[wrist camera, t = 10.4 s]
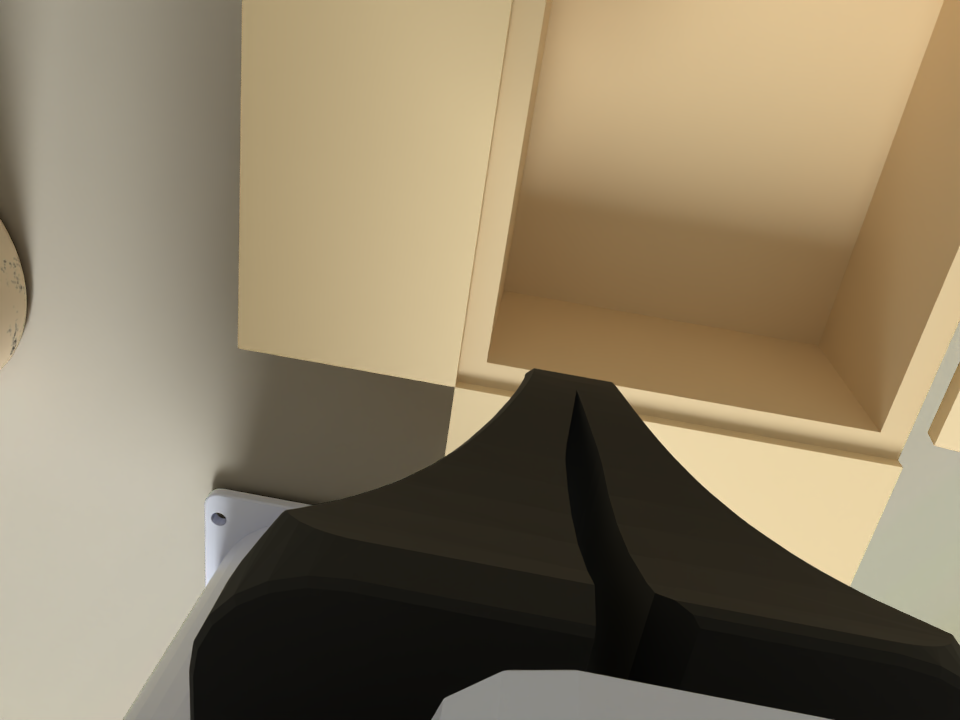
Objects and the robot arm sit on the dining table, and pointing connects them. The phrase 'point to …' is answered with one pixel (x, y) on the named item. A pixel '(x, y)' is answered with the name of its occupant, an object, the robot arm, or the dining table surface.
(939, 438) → the flap
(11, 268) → the teacup with lid
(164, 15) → the dining table surface
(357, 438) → the dining table surface
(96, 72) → the dining table surface
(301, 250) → the carton
